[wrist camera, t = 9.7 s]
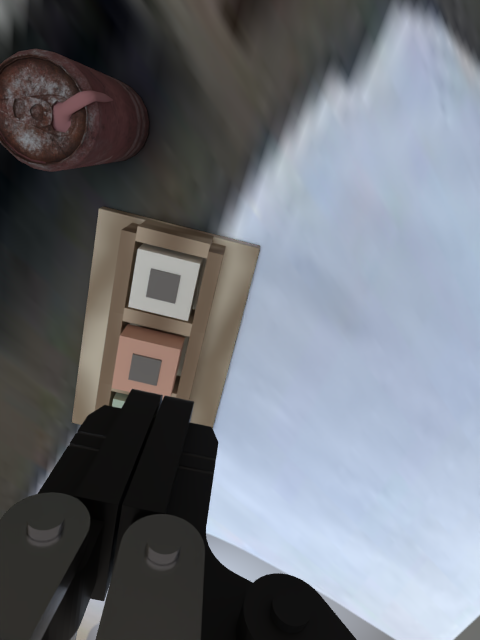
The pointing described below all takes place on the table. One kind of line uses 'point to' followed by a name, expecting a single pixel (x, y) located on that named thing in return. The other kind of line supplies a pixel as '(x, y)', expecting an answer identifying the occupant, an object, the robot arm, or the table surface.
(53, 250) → the table surface
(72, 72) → the can
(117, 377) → the terracotta key
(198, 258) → the cream key
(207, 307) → the keypad board
